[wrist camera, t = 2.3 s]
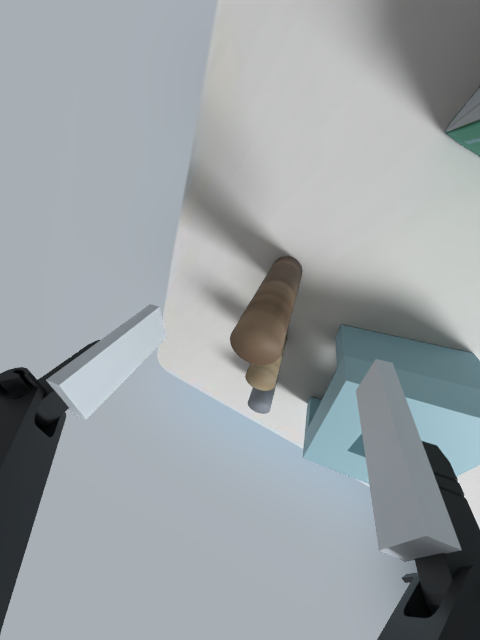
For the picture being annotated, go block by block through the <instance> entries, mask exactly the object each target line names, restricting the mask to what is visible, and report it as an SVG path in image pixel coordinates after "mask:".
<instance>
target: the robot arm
mask: <svg viewBox="0 0 480 640" xmlns="http://www.w3.org/2000/svg"><path fill="white" fill-rule="evenodd" d="M166 338H167V337H166V333H165V328H164V324H163V320H162V315H161V311H160V307H158V306H154V305H149V306H147V307H146V308H144V309H143V310H142V311H140V312H139V313H138V314H136V315H135V316H133V317H132V318H131V319H129V320H128V321H126V322H125V323H124V324H122V325H121V326H120V327H119V328H117V329H116V330H114V331H113V332H111V333H110V334H109V335H107V336H106V337H104V338H103V339H102V340H98V341H95V342H93V343H91V344H89V345H87V346H86V347H84V348H83V349H81V350H80V351H79V352H78V353H76V354H74V355H73V356H72V357H71V358H69V359H67V360H66V361H64V362H63V363H61V364H60V365H59V366H57V367H56V368H54V369H53V370H52V371H50V372H49V373H47V374H46V375H44V376H43V377H42V378H40V379H38V380H37V379H36V378H35V377H34V376H33V375H32V374H31V372H29V370H28V369H27V368H23V367H20V368H14V369H10V370H7V371H5V372H3V373H1V374H0V632H1V629H2V625H3V622H4V619H5V615H6V612H7V609H8V606H9V602H10V599H11V595H12V592H13V589H14V586H15V583H16V579H17V576H18V573H19V570H20V566H21V563H22V560H23V557H24V553H25V550H26V547H27V543H28V540H29V537H30V534H31V530H32V527H33V524H34V520H35V517H36V514H37V510H38V507H39V504H40V501H41V497H42V494H43V491H44V487H45V484H46V481H47V478H48V475H49V471H50V468H51V465H52V461H53V458H54V455H55V451H56V448H57V444H58V442H59V438H60V435H61V431H62V429H63V425H64V422H65V419H66V413H65V411H66V410H67V409H68V408H69V409H70V410H71V411H72V412H73V413H74V415H77V416H79V417H81V418H84V419H87V418H88V417H89V416H90V415H91V414H92V413H93V412H94V411H95V410H96V409H97V408H98V407H99V406H100V405H101V404H102V403H103V402H104V401H105V400H106V399H107V398H108V397H109V396H110V395H111V394H112V393H113V392H114V391H115V390H116V389H117V388H118V387H119V386H120V385H121V384H122V382H124V381H125V380H126V379H127V378H128V377H129V376H130V374H131V373H132V372H133V371H134V370H135V369H136V368H137V367H138V366H139V365H140V364H141V363H142V362H143V361H144V360H145V359H146V358H147V357H148V356H149V355H150V354H151V353H152V352H153V351H154V350H155V349H156V348H157V347H158V346H159V345H160V344H161V343H162V342H163V341H164V340H165V339H166ZM356 396H357V403H358V410H359V417H360V423H361V430H362V437H363V444H364V450H365V457H366V464H367V471H368V478H369V484H370V490H371V497H372V505H373V512H374V517H375V525H376V532H377V538H378V546H379V550H380V551H382V552H384V553H386V554H389V555H391V556H393V557H395V558H398V559H400V560H402V561H405V562H406V561H411V560H415V562H416V566H417V571H418V573H412V574H406V575H405V576H404V577H402V579H403V580H404V582H405V583H407V582H411V583H410V585H409V586H408V588H407V590H406V591H405V593H404V595H403V596H402V598H401V600H400V601H399V603H398V605H397V607H396V608H395V610H394V612H393V613H392V615H391V617H390V619H389V620H388V622H387V624H386V625H385V627H384V629H383V631H382V632H381V634H380V636H379V637H378V640H480V529H479V527H478V525H477V522H476V520H475V518H474V516H473V513H472V511H471V509H470V507H469V504H468V502H467V500H466V498H464V493H463V491H462V488H461V486H460V484H459V483H458V482H457V480H458V479H457V477H456V475H455V473H454V470H453V468H452V466H451V463H450V462H449V460H448V459H447V458H446V456H445V455H444V454H443V453H442V451H441V450H440V449H439V447H438V446H437V445H434V444H430V443H427V442H424V441H421V438H420V436H419V433H418V430H417V427H416V425H415V422H414V419H413V417H412V414H411V411H410V409H409V406H408V403H407V400H406V398H405V395H404V392H403V390H402V387H401V384H400V381H399V379H398V376H397V373H396V371H395V368H394V365H393V363H391V362H387V361H383V360H379V359H375V361H374V363H373V364H372V366H371V367H370V369H369V371H368V372H367V374H366V375H365V377H364V379H363V380H362V382H361V383H360V385H359V387H358V388H357V390H356Z"/></svg>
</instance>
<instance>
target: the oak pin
mask: <svg viewBox="0 0 480 640" xmlns="http://www.w3.org/2000/svg"><path fill="white" fill-rule="evenodd" d="M286 340H287V335H286V337H285V341H284V345H283V348H282V352H281V355H280V357H279V359H278V360H277V361H275V362H274V363H271V364H268V365H256V364H252V363H250V365H249V368H248V370H247V373H246V376H245V377H246V380H247V382H248V383H249V384H250V385H251V386H252V387H254V388H256V389H258V390H263V391H268V390H271V389H273V388H274V387H275V384H276V380H277V376H278V372H279V368H280V364H281V360H282V356H283V352H284V348H285V344H286Z"/></svg>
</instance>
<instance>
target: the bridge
mask: <svg viewBox="0 0 480 640" xmlns="http://www.w3.org/2000/svg"><path fill="white" fill-rule="evenodd" d="M336 358H337V371H336V373H335V375H334V377H333V379H332V381H331V383H330V385H329V387H328V389H327V391H326V393H325V395H324V397H323V399H322V400H320V399H317V398H313V397H310V399H309V402H308V405H307V416H306V428H305V439H304V450H303V458H304V459H307V460H309V461H312V462H315V463H317V464H320V465H322V466H325V467H327V468H330V469H333V470H335V471H338V472H340V473H343V474H346V475H348V476H351V477H353V478H356V479H358V480H361V481H363V482H366V483H369V478H368V471H367V464H366V457H365V450H364V444H363V437H362V430H361V423H360V417H359V410H358V403H357V396H356V390H357V388H358V387H359V385H360V383H361V382H362V380H363V379H364V377H365V375H366V374H367V372H368V371H369V369H370V367H371V366H372V364H373V363H374V361H375V359H379V360H383V361H387V362H391V363H393V365H394V368H395V371H396V373H397V376H398V379H399V381H400V384H401V387H402V390H403V392H404V395H405V398H406V400H407V403H408V406H409V409H410V411H411V414H412V417H413V419H414V422H415V425H416V427H417V430H418V433H419V436H420V438H421V441H424V442H427V443H430V444H434V445H437V446H438V447H439V449H440V450H441V451H442V453H443V454H444V455H445V456H446V458H447V459H448V460H449V462H450V463H451V466H452V468H453V470H454V473H455V475H456V476H458V475H460V474H462V473H464V472H466V471H468V470H470V469H472V468H474V467H476V466H478V465H480V361H479V360H478V358H477V357H476V356H475V355H474V353H470V352H465V351H461V350H456V349H451V348H447V347H442V346H438V345H433V344H428V343H424V342H419V341H415V340H410V339H405V338H401V337H396V336H391V335H387V334H382V333H378V332H373V331H368V330H364V329H359V328H355V327H350V326H345V325H341V326H340V329H339V331H338V334H337V336H336Z"/></svg>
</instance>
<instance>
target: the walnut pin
mask: <svg viewBox="0 0 480 640" xmlns="http://www.w3.org/2000/svg"><path fill="white" fill-rule="evenodd" d="M301 276H302V267H301V265H300V263H299V262H298V261H297V260H296V259H294V258H292V257H282V258H279V259H278V260H276V261H275V263H274V264H273V266H272V267H271V269H270V271H269V272H268V274H267V276H266V277H265V279H264V280H263V282H262V284H261V285H260V287H259V289H258V290H257V292H256V294H255V295H254V297H253V299H252V300H251V302H250V304H249V305H248V307H247V308H246V310H245V312H244V313H243V315H242V317H241V318H240V320H239V322H238V323H237V325H236V327H235V328H234V330H233V332H232V333H231V336H230V342H231V346H232V348H233V350H234V351H235V352H236V354H237V355H238V356H240V357H241V358H242V359H244V360H245V361H247V362H250V363H252V364H256V365H268V364H271V363H274V362H275V361H277V360H278V359H279V357H280V355H281V352H282V348H283V345H284V341H285V337H286V333H287V329H288V325H289V322H290V318H291V314H292V310H293V306H294V303H295V299H296V295H297V291H298V287H299V283H300V280H301Z"/></svg>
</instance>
